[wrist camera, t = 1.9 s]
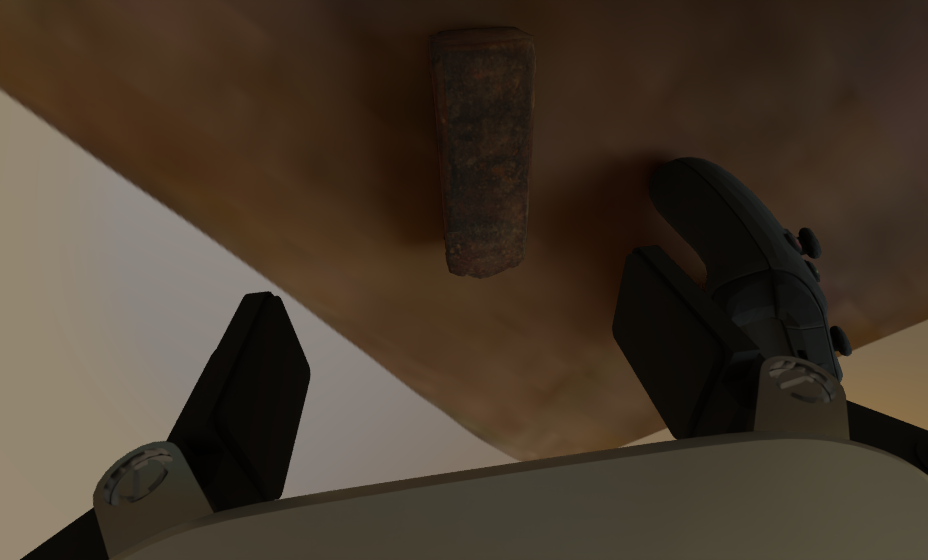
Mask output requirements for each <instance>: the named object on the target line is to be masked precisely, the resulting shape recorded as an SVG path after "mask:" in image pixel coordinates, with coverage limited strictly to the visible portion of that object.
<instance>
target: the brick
mask: <svg viewBox="0 0 928 560" xmlns="http://www.w3.org/2000/svg"><path fill="white" fill-rule="evenodd" d="M428 53H429V69H430V77H431V79H432V89H433V101H434V111H435V120H436V135H437V148H438V160H439V172H440V185H441V199H442V212H443V223H444V239H445V246H446V247H445V248H446V253H445V255H446V262H447V265H448V268H449V272H450V273H453V274H455V275H458V276H465V275H469V276H472V277H477V278H485V277H489V276H492V275H495V274H497V273H499V272H501V271H504V270H505V269H507V268H509V267H515V266H517V265H518V264H519V263H520V262H521V261H522V260H523V259H524V255H525V249H526V240H527V223H528V209H529V191H530V175H531V154H532V130H533V108H534V107H535V72H536V62H537V61H536V55H535V48H534V43H533V35H528V34H527V33H525V32H523V31H521V30H519V29H518V28H516V27H502V28H484V29H466V30H453V31H442V32H439V33H438V34H436V35H431V36H429V43H428Z"/></svg>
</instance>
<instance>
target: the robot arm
mask: <svg viewBox="0 0 928 560" xmlns="http://www.w3.org/2000/svg"><path fill="white" fill-rule="evenodd" d="M612 331H613V336H614V338H615V340H616V342H617V344H618V345H619V347H620V349H621V350H622V352H623V354H624V355H625V357H626V359H627V360H628V362H629V364H630V365H631V367H632V369H633V370H634V372H635V374H636V375H637V377H638V379H639V380H640V382H641V384H642V385H643V387H644V389H645V390H646V392H647V394H648V395H649V397H650V399H651V400H652V402H653V404H654V405H655V407H656V409H657V410H658V412H659V414H660V415H661V417H662V419H663V420H664V422H665V424H666V425H667V427H668V429H669V430H670V432H671V434H672V435H673V437H674V438H675V439H677V440H672V441H664V442H657V443H650V444H643V445H636V446H629V447H622V448H615V449H608V450H601V451H594V452H587V453H580V454H573V455H566V456H559V457H552V458H545V459H539V460H532V461H525V462H518V463H511V464H505V465H499V466H492V467H485V468H478V469H471V470H464V471H458V472H451V473H444V474H438V475H431V476H424V477H418V478H411V479H405V480H399V481H392V482H385V483H379V484H373V485H366V486H359V487H353V488H346V489H340V490H333V491H327V492H321V493H316V494H309V495H304V496H297V497H292V498H286V499H281V500H277V499H279V498H280V497H281V495H282V492H283V489H284V484H285V480H286V476H287V472H288V468H289V463H290V460H291V456H292V451H293V447H294V443H295V439H296V435H297V430H298V427H299V422H300V418H301V414H302V410H303V406H304V402H305V398H306V394H307V390H308V385H309V381H310V367H309V364H308V362H307V360H306V357H305V355H304V352H303V350H302V347H301V345H300V343H299V340H298V338H297V335H296V333H295V331H294V328H293V326H292V324H291V321H290V319H289V316H288V314H287V311H286V309H285V307H284V304H283V302H282V300H281V298H280V297H279V296H274V295H273V294H272V293H271V292H269V291H268V292H259V293H250V294H246V295H245V296H244V297H243V299H242V301H241V303H240V305H239V307H238V309H237V311H236V312H235V314H234V316H233V318H232V320H231V322H230V324H229V326H228V328H227V330H226V332H225V334H224V336H223V337H222V339H221V341H220V343H219V345H218V347H217V349H216V350H215V351H214V352H213V354H212V355H211V357H210V359H209V361H208V363H207V364H206V366H205V368H204V370H203V372H202V374H201V376H200V378H199V380H198V382H197V383H196V385H195V387H194V389H193V391H192V393H191V395H190V397H189V399H188V401H187V402H186V404H185V406H184V408H183V410H182V412H181V414H180V416H179V418H178V420H177V421H176V424H175V425H174V427H173V429H172V431H171V433H170V435H169V437H168V439H167V441H160V442H152V443H149V444H146V445H143V446H140V447H138V448H137V449H135V450H133V451H131V452H129V453H127V454H126V455H125V456H123V457H122V458H120V459H119V460H118V461H116V462H115V463H114V464H113V465H112V466H111V467H110V468H109V469H108V470H107V471H106V472H105V474H104V475H103V477H102V478H101V479H100V481H99V482H98V484H97V486H96V489H95V491H94V494H93V506H94V507H93V508H92V509H91V510H89V511H88V512H86V513H85V514H84V515H82V516H81V517H79V518H78V519H76V520H75V521H74V522H72V523H71V524H69V525H68V526H67V527H65V528H64V529H62V530H61V531H60V532H58V533H57V534H56V535H54V536H53V537H51V538H50V539H48V540H47V541H46V542H44V543H43V544H41V545H40V546H38V547H37V548H36V549H34V550H33V551H31V552H30V553H29V554H27V555H26V556H24V557H23V558H22V559H20V560H928V430H925V429H922V428H920V427H917V426H914V425H912V424H909V423H906V422H904V421H901V420H898V419H896V418H893V417H890V416H888V415H885V414H882V413H880V412H877V411H874V410H872V409H869V408H866V407H864V406H861V405H858V404H856V403H853V402H850V401H848V400H846V395H845V392H844V389H843V387H842V385H841V384H840V383H839V382H838V380H837V379H836V378H835V377H834V376H832V375H831V374H830V373H829V372H828V371H826V370H825V369H823V368H821V367H819V366H818V365H816V364H814V363H811V362H809V361H806V360H803V359H800V358H796V357H791V356H775V357H771V358H769V359H767V360H766V359H765V358H764V357H763V356H762V355H761V354H760V353H759V352H760V350H761V349H760V348H759V347H758V346H757V345H756V344H755V343H754V342H753V341H752V340H751V339H750V338H749V337H748V336H747V335H746V334H745V333H744V332H743V331H742V330H741V329H740V328H739V327H738V326H737V325H736V324H735V323H734V322H733V321H732V320H731V319H730V318H729V317H728V316H727V315H726V314H725V313H724V312H723V311H722V310H721V309H720V307H719V306H718V305H717V304H716V303H715V302H714V301H713V300H712V299H711V298H710V297H709V296H708V295H707V294H706V293H705V292H704V291H703V290H702V289H701V288H700V287H699V286H698V285H697V284H696V283H695V282H694V281H693V280H692V279H691V278H690V277H689V276H688V275H687V274H686V273H685V272H684V271H683V270H682V269H681V268H680V267H679V266H678V265H677V264H676V263H675V262H674V261H673V260H672V259H671V258H670V257H669V256H668V255H667V254H666V253H665V252H664V251H663V250H662V249H661V248H660V247H659V246H657V245H653V246H644V247H636V248H634V250H633V251H632V253H630V254H628V255H627V257H626V261H625V266H624V271H623V276H622V281H621V286H620V291H619V296H618V301H617V306H616V310H615V315H614V320H613V325H612Z"/></svg>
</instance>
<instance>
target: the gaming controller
mask: <svg viewBox="0 0 928 560" xmlns="http://www.w3.org/2000/svg"><path fill="white" fill-rule="evenodd" d="M649 193H650V198H651V200H652V202H653V204H654V206H655V207H656V209H657V210H658V212H659V213H660V214H661V215H662V216H663V217H664V219H665V220H666V221H667V222H668V223H669V224H670V225H671V226H672V227H673V228H674V229H675V230H676V231H677V232H678V233H679V234H680V235H681V236H682V237H683V238H684V240H685V241H686V242H687V243H688V244H689V245H690V246H691V247H692V248H693V249H694V250H695V251H696V252H697V254H698V255H699V257H700V258H701V259H702V261H703V262H704V264H705V265H706V270H707V282H706V294H707V295H708V296H709V297H710V298H711V299H712V300H713V301H714V302H715V303H716V304H717V305H718V306H719V307H720V309H721V310H722V311H723V312H724V313H725V314H726V315H727V316H728V317H729V318H730V319H731V320H732V321H733V322H734V323H735V324H736V325H737V326H738V327H739V328H740V329H741V330H742V331H743V332H744V333H745V334H746V335H747V336H748V337H749V338H750V339H751V340H752V341H753V342H754V343H755V344H756V345H757V346H758V347H759V348H760V349H761V350H760V352H759V353H760V354H761V355H762V356H763V357H764V358H765V359H766V360H767V359H769V358H771V357H775V356H791V357H796V358H800V359H803V360H806V361H809V362H811V363H814V364H816V365H818V366H819V367H821V368H823V369H825V370H826V371H828V372H829V373H830V374H831V375H832V376H834V377H835V378H836V379H837V380H838V382H839V383H840V382H841V380H842V377H843V374H842V370H841V367H840V364H839V362H838V359H837V357H836V354H835V351H839V352H840V353H841V354H842V355H844V356H849V355H850V354H851V353H852V349H851V346H850V343H849V341H848V339H847V337H846V335H845V333H844V332H843V331H842V329H841V328H840V327H838V326H833V327H831V328H830V331H829V326H828V321H827V309H828V303H827V301H826V298H825V296H824V294H823V292H822V290H821V289H820V287H819V285H818V283H817V282H820V275H819V273H818V271H817V269H816V268H815V266H814V265H813V264H812V263H811V262H809V261H806V260H803V258H802V257H801V255H805V254H807V255H808V256H809V257H811V258H814V259H817V258H819V256H820V255H821V248H820V245H819V242H818V240H817V239H816V237H815V235H814V233H813V232H812V231H811V230H810V229H808V228H802V229H800V231H799V237H797V238H796V237H795V236H794V235H793V234H791V233H790V232H789V230H788V229H783V228H782V226H781V225H780V224H779V222H778V221H777V220H776V218H775V217H774V216H773V214H772V213H771V212H770V211H769V210H768V209H767V207H766V206H765V205H764V204H763V203H762V202H761V201H760V200H759V199H758V198H757V197H756V196H755V194H754V193H753V192H752V191H751V190H749V189H748V188H747V187H746V186H745V185H744V184H742V183H741V182H740V181H739V180H738V179H737V178H735V177H734V176H733V175H732V174H730V173H729V172H727V171H726V170H724V169H723V168H721V167H720V166H718V165H716V164H714V163H711V162H709V161H707V160H704V159H700V158H694V157H686V158H678V159H675V160H673V161H670V162H668V163H666V164H664V165H663V166H661V167H660V168H659V169H658V170H657V171H656V172H655V173H654V174H653V176H652V178H651V181H650V186H649Z"/></svg>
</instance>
